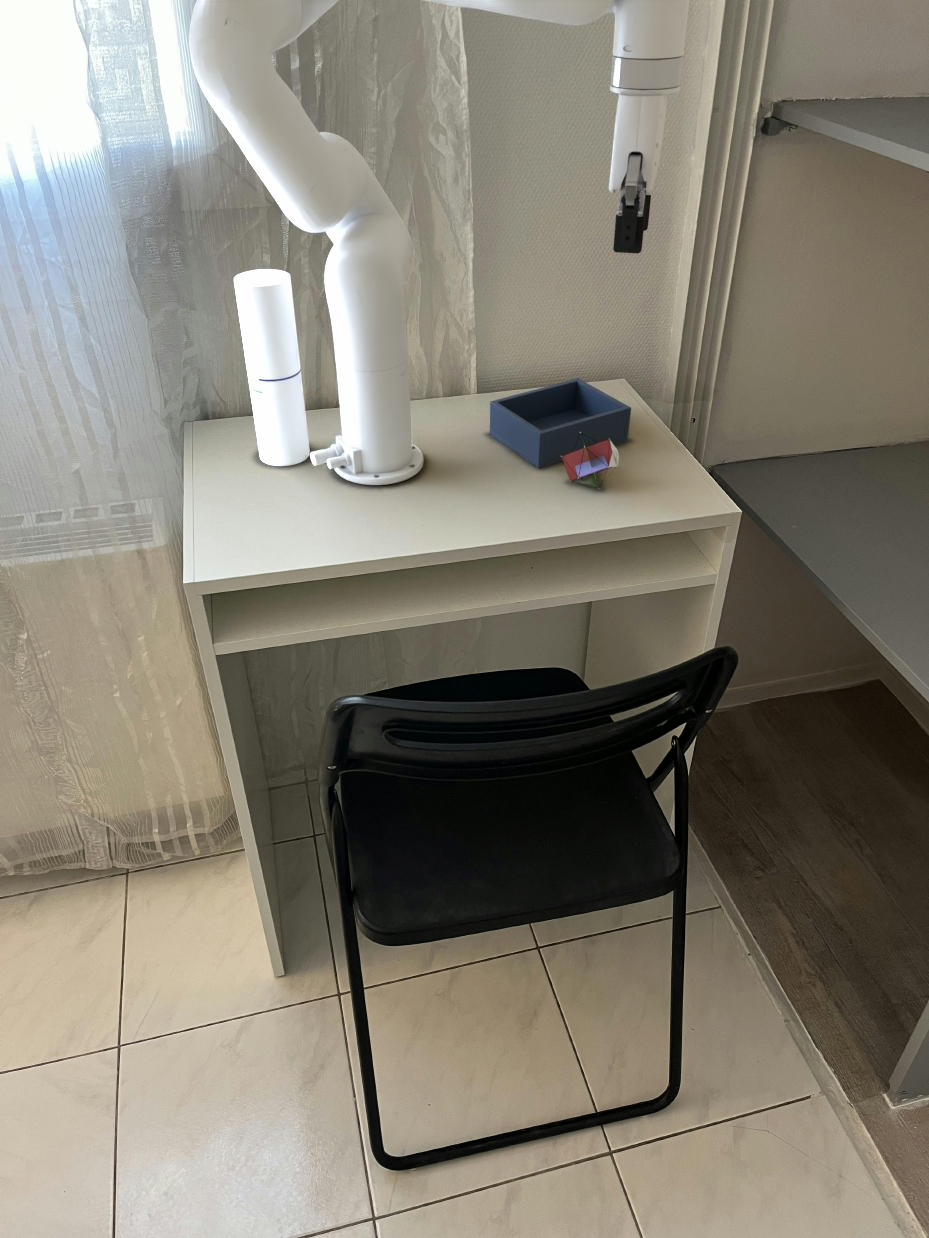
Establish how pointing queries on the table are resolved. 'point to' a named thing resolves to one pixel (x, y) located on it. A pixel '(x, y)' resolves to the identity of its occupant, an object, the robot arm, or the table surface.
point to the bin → (558, 421)
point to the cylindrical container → (273, 365)
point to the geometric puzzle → (590, 460)
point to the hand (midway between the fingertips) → (630, 240)
